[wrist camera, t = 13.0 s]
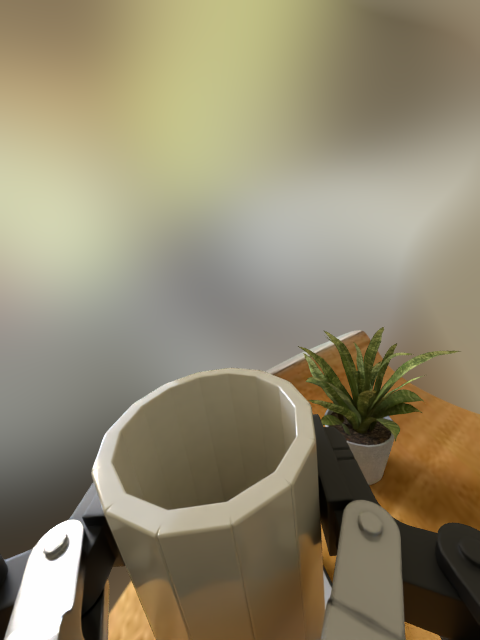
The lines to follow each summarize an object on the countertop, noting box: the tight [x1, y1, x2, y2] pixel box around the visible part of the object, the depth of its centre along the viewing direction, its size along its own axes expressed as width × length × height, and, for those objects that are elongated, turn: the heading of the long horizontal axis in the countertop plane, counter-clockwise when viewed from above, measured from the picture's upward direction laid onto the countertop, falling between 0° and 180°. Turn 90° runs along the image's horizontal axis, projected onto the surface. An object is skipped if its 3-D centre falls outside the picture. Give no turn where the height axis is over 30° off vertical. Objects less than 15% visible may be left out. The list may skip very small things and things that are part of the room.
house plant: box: [298, 327, 458, 485], centre depth 27 cm, size 14×14×16 cm
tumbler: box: [91, 368, 325, 640], centre depth 9 cm, size 6×6×10 cm
